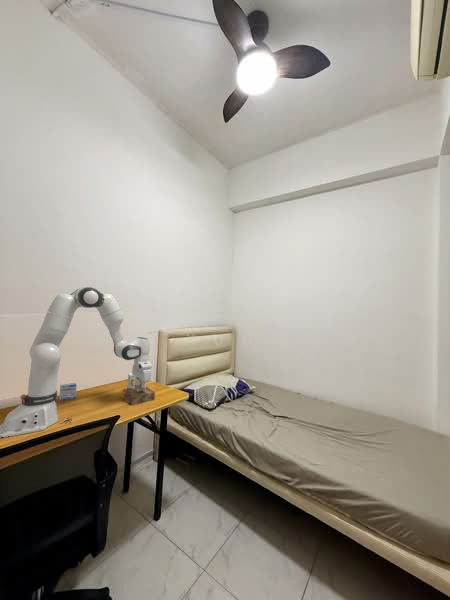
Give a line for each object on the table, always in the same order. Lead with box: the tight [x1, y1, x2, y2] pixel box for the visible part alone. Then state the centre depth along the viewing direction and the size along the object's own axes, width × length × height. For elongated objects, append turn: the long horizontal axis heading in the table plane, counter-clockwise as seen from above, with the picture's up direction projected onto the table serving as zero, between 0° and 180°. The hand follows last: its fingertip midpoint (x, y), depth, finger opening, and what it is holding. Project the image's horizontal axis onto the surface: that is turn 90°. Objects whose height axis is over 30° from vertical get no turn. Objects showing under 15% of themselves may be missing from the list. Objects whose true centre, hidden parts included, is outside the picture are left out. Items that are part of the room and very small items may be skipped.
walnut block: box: [124, 386, 156, 406], centre depth 147 cm, size 14×12×5 cm
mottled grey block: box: [135, 378, 147, 391], centre depth 148 cm, size 5×5×7 cm
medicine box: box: [59, 382, 77, 402], centre depth 144 cm, size 8×4×9 cm, turn 131°
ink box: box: [126, 372, 136, 391], centre depth 161 cm, size 9×5×12 cm, turn 126°
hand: (140, 385), depth 147 cm, fingers closed on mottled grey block, 5 cm apart
